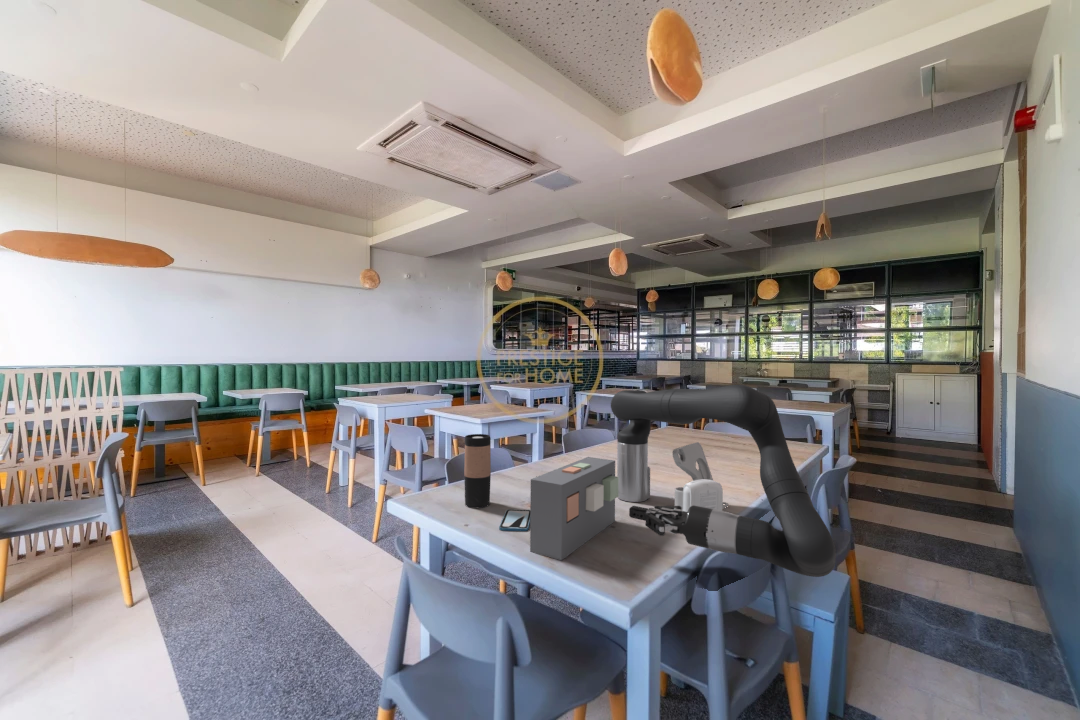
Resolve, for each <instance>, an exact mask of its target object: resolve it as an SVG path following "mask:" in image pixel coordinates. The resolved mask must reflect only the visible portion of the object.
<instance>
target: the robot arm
mask: <svg viewBox="0 0 1080 720" xmlns="http://www.w3.org/2000/svg"><path fill="white" fill-rule="evenodd" d="M610 409H611V413H612V414H613V415H614V416H615V417H616V419H619V420H621V421H625V422H626V421H629V424H627V426H626V427H624V428H623V429H621V430H620V431H619V432H618V433H617V441H616V442H617V447H616V449H617V459H616V460H617V468H616V470H617V471H616V474H617V475H616V477H619V479H618V497H617V498H618V499H619V500H622V501H626V502H631V503H633V502H635V503H639V502H644V501H647V500H648V499H651V467H650V466H648V465H649V461H648V460H649V457H648V456H649V455H648V454H649V443H648V442H649V437H650V434H651V427H652V426H651V424H652V421H655V422H659V423H668V424H669V423H670V424H677V425H678V424H679V425H689V424H694V423H696V422H698V421H699V420H701V419H709V420H716V421H720V422H724V423H728V424H730V425H733V426H735V427H737V428H740V429H742V430H745V431H748V433H749V434H750V436H751V437H752V439H753V440H754V442H755V444H756V446H757V448H758V451H759V454H760V455H759V457H760V463H759V464H760V465H759V476H760V478H759V479H760V481H761V485H762V489H763V491H764V493H765V496H766V498H767V500H768V503H769V505H770V508H771V510H772V512H773V514H774V515H775V517H776V518H777V519H778V521H779V524H780V527H781V528H782V530H781V529H777V528H775V527H774V526H773V525H772V524H771V523H770V522H768V521H766V520H762V519H758V518H753V517H749V516H748V517H747V516H742V515H739V514H735V513H731V512H728V511H725V510H723V511H720V510H715V509H710V508H705V507H699V506H694V505H693V506H691V507H690V508H689V510H688V512H685V511H682V507H681V506H675V505H654V506H653V507H648V508H646V507H641V506H637V505H632V506H630V507H629V508H628V509H629V510H628V512H629V513H628V515H629V517H630V519H636V520H640V521H644V522H645V526H646V527H647V528H648V529H649V530H651V531H653V532H654V533H656V534H657V535H658V536H660V537H661V536H662V537H663V536H665V535H666V533H665V532H668V533H669V534H673V535H677V534H678V535H679V534H680V535H683V536H684V537H685V541H686V542H687V544H689V545H692V546H695V547H699V548H704V549H708V550H712V551H717V552H720V553H724V554H725V553H728V554H735V555H739V556H743V557H748V558H751V559H752V558H753V559H757V560H762V561H765V562H768V563H771V564H772V565H775V566H777V567H780V568H783V569H785V570H788V571H790V572H792V573H795V574H799V575H802V576H807V577H815V578H820V577H825V576H828V575H829V574H830V573H832V572H833V570H834V568H835V566H836V552H837V551H836V545H835V542H834V539H833V537H832V535H831V532H830V530H829V529H828V527H827V525H826V524H825V522H824V520H823V518H822V517H821V515H820V514H819V512H818V510H817V509H816V508H815V507H814V504H813V502H812V499H811V497H810V495H809V492H808V491H807V488H806V487H805V485H804V482H803V480H802V478H801V477H800V474H799V472H798V470H797V467H796V466H795V462H794V460H793V458H792V455H791V452H790V449H789V446H788V443H787V440H786V439H787V438H786V437H785V436H786V435H785V433H784V430H783V426H782V423H781V418H780V416H779V412H778V409H777V406H776V404H775V402H774V400H773V399H772V397H770V396H768V395H767V394H765V393H764V392H761V391H759V390H758V389H756V388H754V387H751V386H748V385H745V384H731V385H725V386H718V387H712V388H670V389H661V390H654V391H648V392H646V391H645V390H642V389H632V390H631V389H629V390H627V389H626V390H621V391H618V392H616V393H615V394H614V395H613V397H612V398H611V402H610Z"/></svg>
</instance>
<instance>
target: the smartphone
mask: <svg viewBox="0 0 1080 720" xmlns="http://www.w3.org/2000/svg"><path fill="white" fill-rule="evenodd" d="M498 529H499V531H501V532H504V531H505V532H507V531H509V532H527V531H528V530H529V529H530V509H511V508H509V509H506V510H505V512H504V514H503V517H502V519H501V522H500V524H499V526H498Z"/></svg>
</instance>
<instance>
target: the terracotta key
mask: <svg viewBox="0 0 1080 720" xmlns="http://www.w3.org/2000/svg"><path fill="white" fill-rule="evenodd" d="M578 515H579V493H577V492H576V493H574V494H572V495H570V496H568V497H567V522H568V521H569V520H571V519H573V518H574V517H576V516H578Z"/></svg>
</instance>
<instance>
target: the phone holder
mask: <svg viewBox="0 0 1080 720" xmlns="http://www.w3.org/2000/svg"><path fill="white" fill-rule="evenodd" d="M672 459H673V461H674V464H675V465H676V466H677V467H679V468H680V469H681V470H682V471H683V472H684V473H686V474H687V475H688V476H690V477H691V479H692V481H695V480H700V479H708V480H713V481H714V478H713V475H712V473H711V469H710V467H709V464H708V459H707V458H706V454H705V451H704V448H703V446H702V444H701V443H700V442H699V441H696V442H693V443H689V444H686V445H683V446H680V447H676V448H674V449H672ZM697 465H698V469H697ZM683 487H684V486H683ZM683 487H682V486H681V487H675V488H674V506H681V507H682V511H683ZM723 504H725V505H723V507H722V509H724V508H725V507H727V506H728V505H729V506H730V504H729V503H728V502H725V501H723ZM727 508H728V507H727ZM724 510H725V509H724Z"/></svg>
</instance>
